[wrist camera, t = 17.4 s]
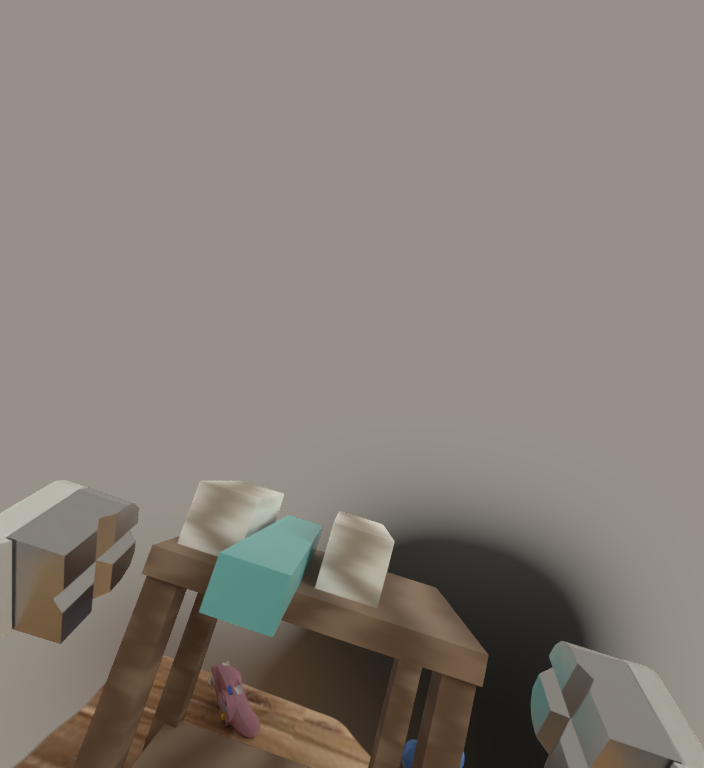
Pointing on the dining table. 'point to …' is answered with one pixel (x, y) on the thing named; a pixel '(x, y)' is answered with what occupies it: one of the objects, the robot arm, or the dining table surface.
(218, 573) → the module bar
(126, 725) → the shelf
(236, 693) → the video game controller
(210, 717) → the dining table surface
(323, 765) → the dining table surface
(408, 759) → the grapes
